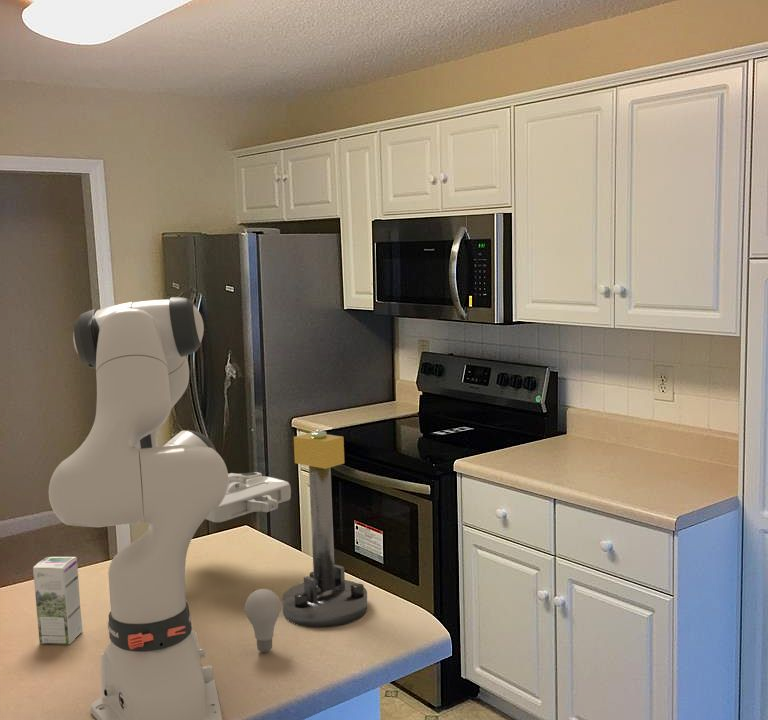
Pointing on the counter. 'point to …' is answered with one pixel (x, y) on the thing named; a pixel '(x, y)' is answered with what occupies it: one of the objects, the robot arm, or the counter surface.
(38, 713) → the counter surface
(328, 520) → the instrument mast
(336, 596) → the tribrach base
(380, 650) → the counter surface
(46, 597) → the syrup box
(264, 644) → the lightbulb
